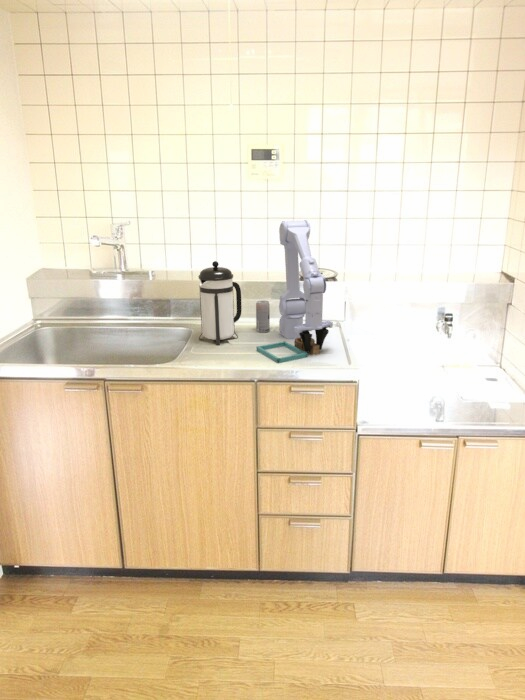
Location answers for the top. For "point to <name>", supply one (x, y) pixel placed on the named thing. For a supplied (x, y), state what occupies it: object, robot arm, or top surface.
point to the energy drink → (262, 316)
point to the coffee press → (218, 303)
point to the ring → (313, 346)
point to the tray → (300, 355)
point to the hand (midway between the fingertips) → (313, 350)
